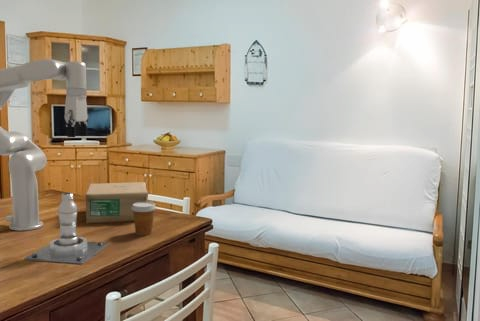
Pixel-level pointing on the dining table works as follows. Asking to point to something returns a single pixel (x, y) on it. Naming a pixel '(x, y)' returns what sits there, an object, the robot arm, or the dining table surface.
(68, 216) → the plastic bottle
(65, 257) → the duct flange
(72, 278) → the dining table surface
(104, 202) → the paper package
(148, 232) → the disposable coffee cup
